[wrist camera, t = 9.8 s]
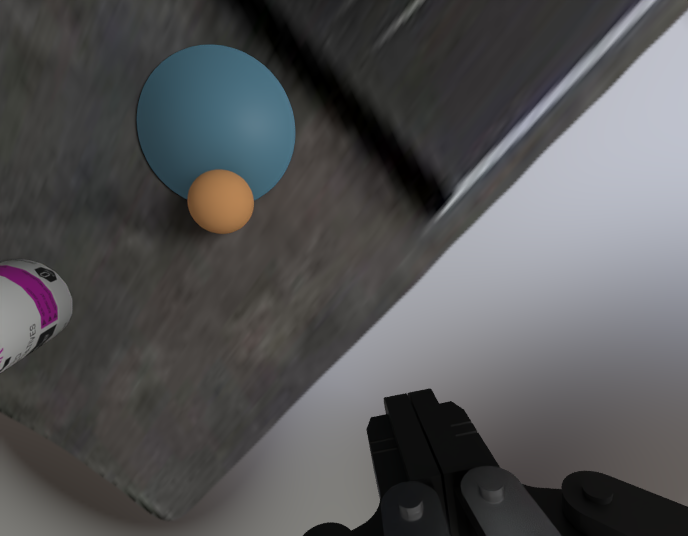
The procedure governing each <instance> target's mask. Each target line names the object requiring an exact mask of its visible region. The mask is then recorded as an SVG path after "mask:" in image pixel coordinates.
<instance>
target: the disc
mask: <svg viewBox="0 0 688 536" xmlns="http://www.w3.org/2000/svg"><path fill="white" fill-rule="evenodd" d="M137 131H138V136H139V141H140V144H141V148H142V151H143V153H144V155H145V157H146V160H147V161H148V163H149V165H150V166H151V168H152V170H153V171H154V172H155V174H156V175H157V176H158V177H159V179H160V180H161V181H162V182H163V183H164V184H165V185H166V186H168V187H169V188H170V189H171V190H173V191H174V192H175V193H177V194H178V195H180V196H182V197H183V198H185V199H188V192H189V189H190V187H191V185H192V183H193V182H194V181H195V179H196V178H197V177H199V176H200V175H201V174H203V173H205V172H207V171H210V170H216V169H223V170H228V171H231V172H234V173H236V174H237V175H239V176H240V177H242V178H243V179H244V180H245V181H246V183H247V184H248V185H249V187H250V189H251V191H252V194H253V198H254V200H256V199H258V198H260V197H261V196H263V195H264V194H266V193H267V192H268V191H269V190H270V189H272V188H273V187H274V186H275V185H276V184H277V182H278V181H279V180H280V179H281V177H282V176H283V174H284V173H285V171H286V169H287V167H288V165H289V163H290V160H291V157H292V154H293V150H294V144H295V122H294V116H293V111H292V108H291V105H290V102H289V99H288V97H287V95H286V93H285V91H284V89H283V88H282V86H281V85H280V83H279V81H278V80H277V79H276V78H275V76H274V75H273V74H272V73H271V72H270V71H269V70H268V69H267V68H266V67H265V66H264V65H263V64H262V63H260V62H259V61H257V60H256V59H255V58H253V57H252V56H250V55H248V54H246V53H244V52H242V51H239V50H237V49H234V48H230V47H226V46H221V45H199V46H193V47H189V48H186V49H183V50H181V51H179V52H177V53H175V54H173V55H171V56H170V57H168V58H167V59H165V60H164V61H163V62H162V63H161V64H160V65H159V66H158V67H157V68H156V69H155V70H154V71H153V72H152V74H151V75H150V76H149V78H148V80H147V82H146V83H145V85H144V87H143V90H142V93H141V95H140V99H139V103H138V108H137Z"/></svg>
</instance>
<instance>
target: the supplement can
mask: <svg viewBox="0 0 688 536" xmlns="http://www.w3.org/2000/svg"><path fill="white" fill-rule="evenodd" d="M71 315H72V297H71V294H70V292H69V289H68V287H67V285H66V283H65V282H64V281H63V280H62V279H61V278H60V277H59V275H58V274H57V273H56V272H55V271H53V270H51V269H50V268H48V267H46V266H45V265H43V264H42V263H38V262H34V261H30V260H27V259H18V260H7V261H4V262H1V263H0V373H1V372H3V371H4V370H6V369H7V368H9V367H10V366H12V365H13V364H15V363H16V362H18V361H19V360H21V359H22V358H24V357H25V356H27V355H28V354H30V353H31V352H33V351H34V350H35V349H37V348H38V347H40V346H41V345H43V344H44V343H46V342H47V341H49V340H50V339H52V338H53V337H55V336H56V335H58V334H59V333H60V332H61V331H62V330H63V329H64V328H65V327H66V326H67V325H68V322H69V320H70V317H71Z"/></svg>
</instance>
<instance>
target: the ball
mask: <svg viewBox="0 0 688 536" xmlns="http://www.w3.org/2000/svg"><path fill="white" fill-rule="evenodd" d="M187 202H188V208H189V211H190V214H191V216H192V217H193V219H194V220H195V221H196V223H197V224H199V225H200V226H201V227H202V228H204V229H205V230H207V231H210V232H213V233H218V234H227V233H232V232H234V231H237V230H239V229H240V228H242V227H243V226H244V225H245V224H246V223H247V222H248V220H249V219H250V217H251V215H252V212H253V208H254V198H253V194H252V191H251V189H250V187H249V185H248V184H247V183H246V181H245V180H244V179H243V178H242V177H240V176H239V175H237V174H236V173H234V172H231V171H228V170H223V169H216V170H210V171H207V172H205V173H203V174H201V175H200V176H199V177H197V178H196V179H195V181H194V182H193V183H192V185H191V187H190V189H189V192H188V199H187Z"/></svg>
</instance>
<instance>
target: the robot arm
mask: <svg viewBox="0 0 688 536" xmlns="http://www.w3.org/2000/svg"><path fill="white" fill-rule="evenodd" d="M384 405H385V410H386V415H381V416H376V417H371V419H370V421H369V424H368V427H367V434H368V440H369V445H370V451H371V456H372V461H373V467H374V473H375V477H376V482H377V487H378V492H379V497H380V503H379V507H378V509H377V511H376V512H375V514H374V515H373V516H372V517H371V518H370V519H369V520H368V521H367V522H366V523H364V524H362V525H361V526H359V527H357V528H355V529H353V530H352V531H351V530H350V529H349V528H347V527H346V526H344V525H342V524H339V523H323V524H320V525H317V526H315V527H313V528H311V529H310V530H308V531H307V532H306V533H305V534H304V535H303V536H688V507H687V506H684V505H682V504H679V503H677V502H674V501H672V500H669V499H667V498H664V497H662V496H659V495H656V494H654V493H651V492H649V491H646V490H644V489H641V488H639V487H636V486H634V485H631V484H629V483H626V482H624V481H621V480H618V479H616V478H613V477H611V476H608V475H605V474H603V473H599V472H593V471H578V472H574V473H572V474H570V475H568V476H567V477H566V478H565V479H564V480H563V483H562V489H550V488H537V487H531V486H526V485H524V484H521V483H520V481H519V480H518V479H517V478H516V477H515V476H514V475H513V474H512V473H510V472H509V471H507V470H504V469H502V468H500V467H499V465H498V463H497V462H496V460H495V459H494V457H493V455H492V454H491V452H490V451H489V449H488V447H487V446H486V444H485V443H484V441H483V440H482V438H481V436H480V435H479V433H477V430H476V428H475V427H474V425H473V424H472V423H471V420H470V419H469V417H468V416H467V414H466V412H465V411H464V409H462V408H461V407H459V406H457V405H456V404H455V403H453V402H451V401H450V402H445V403H441V404H439V403H438V401H437V399H436V397H435V395H434V393H433V391H432V390H431V389H425V390H420V391H415V392H410V393H408V396H407V394H406V393H405V394H400V395H395V396H390V397H385V398H384Z"/></svg>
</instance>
